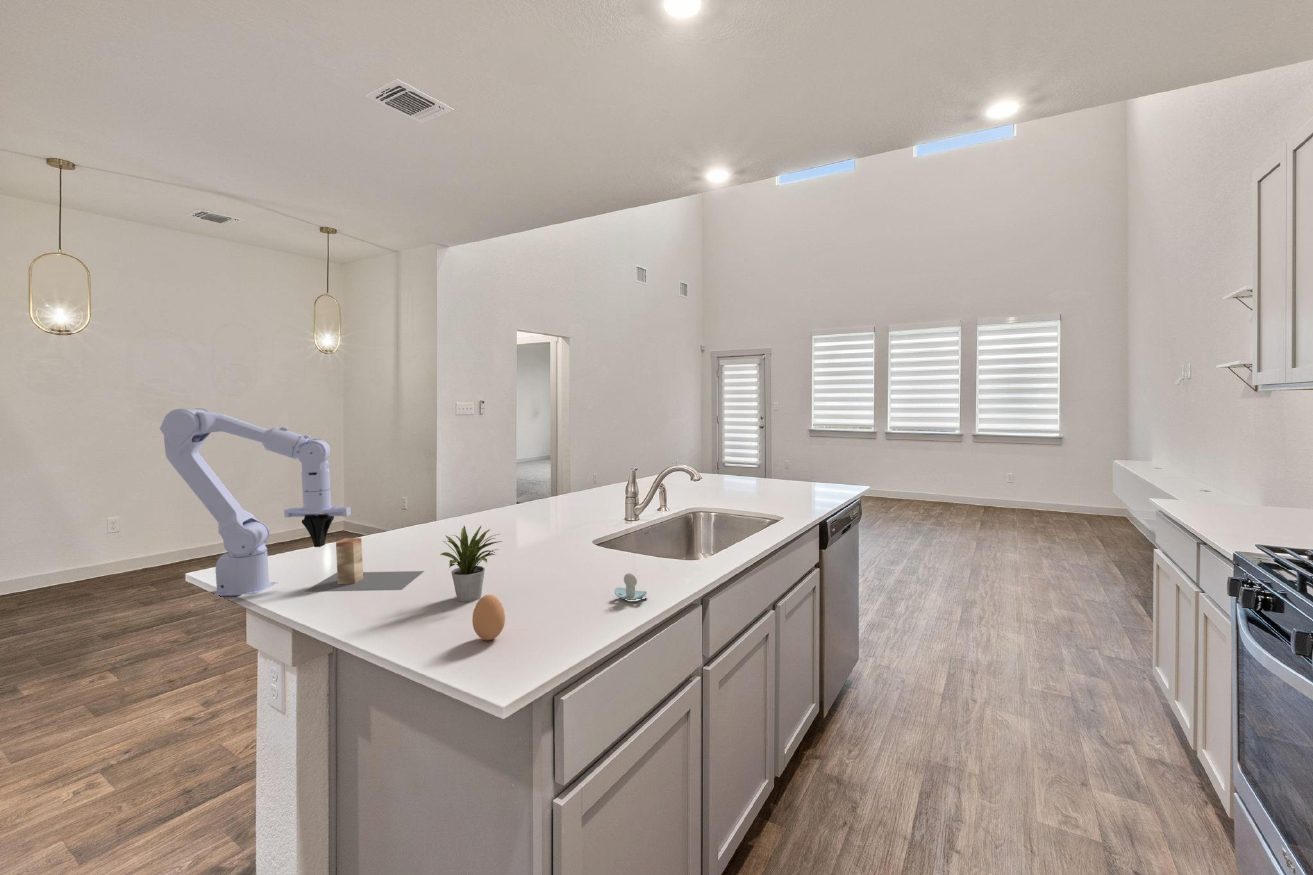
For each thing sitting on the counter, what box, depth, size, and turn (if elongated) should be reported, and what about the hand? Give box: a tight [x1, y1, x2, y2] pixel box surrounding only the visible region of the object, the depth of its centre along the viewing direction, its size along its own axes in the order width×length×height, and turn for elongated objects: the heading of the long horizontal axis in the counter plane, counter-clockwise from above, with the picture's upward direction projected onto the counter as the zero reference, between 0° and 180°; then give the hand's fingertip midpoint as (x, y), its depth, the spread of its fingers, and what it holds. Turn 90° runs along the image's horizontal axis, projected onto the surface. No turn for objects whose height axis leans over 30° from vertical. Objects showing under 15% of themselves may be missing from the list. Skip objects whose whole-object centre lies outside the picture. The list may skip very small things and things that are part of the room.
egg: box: [471, 594, 506, 641], centre depth 103 cm, size 6×6×8 cm
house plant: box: [439, 524, 503, 603], centre depth 124 cm, size 14×14×16 cm
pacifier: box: [614, 572, 648, 600], centre depth 124 cm, size 7×6×6 cm
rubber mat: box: [303, 570, 425, 593], centre depth 136 cm, size 22×14×1 cm, turn 92°
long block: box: [335, 537, 364, 584], centre depth 136 cm, size 4×4×10 cm
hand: (319, 546), depth 135 cm, fingers closed
